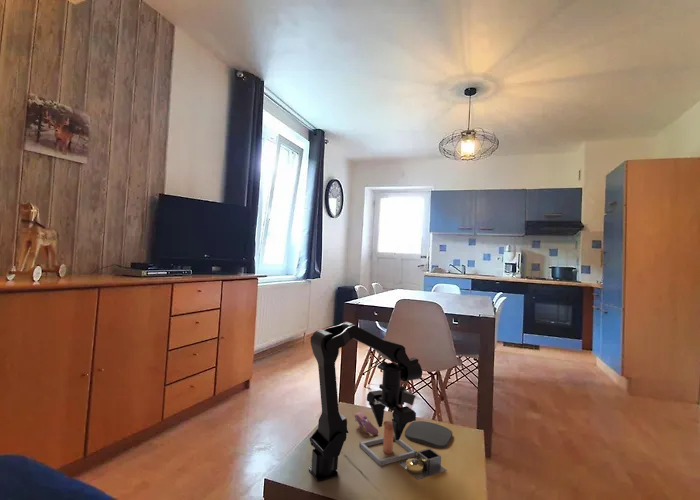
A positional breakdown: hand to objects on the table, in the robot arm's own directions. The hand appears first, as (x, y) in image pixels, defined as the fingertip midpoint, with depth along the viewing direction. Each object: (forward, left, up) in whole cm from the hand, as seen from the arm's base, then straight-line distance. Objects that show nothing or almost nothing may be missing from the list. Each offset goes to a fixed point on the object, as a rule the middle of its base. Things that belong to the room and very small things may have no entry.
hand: (388, 433), depth 114 cm
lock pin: (0, 0, -6) cm, 6 cm away
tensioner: (+5, -11, -6) cm, 14 cm away
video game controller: (+2, +16, -7) cm, 18 cm away
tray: (0, 0, -6) cm, 6 cm away
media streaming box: (+20, +3, -7) cm, 21 cm away
